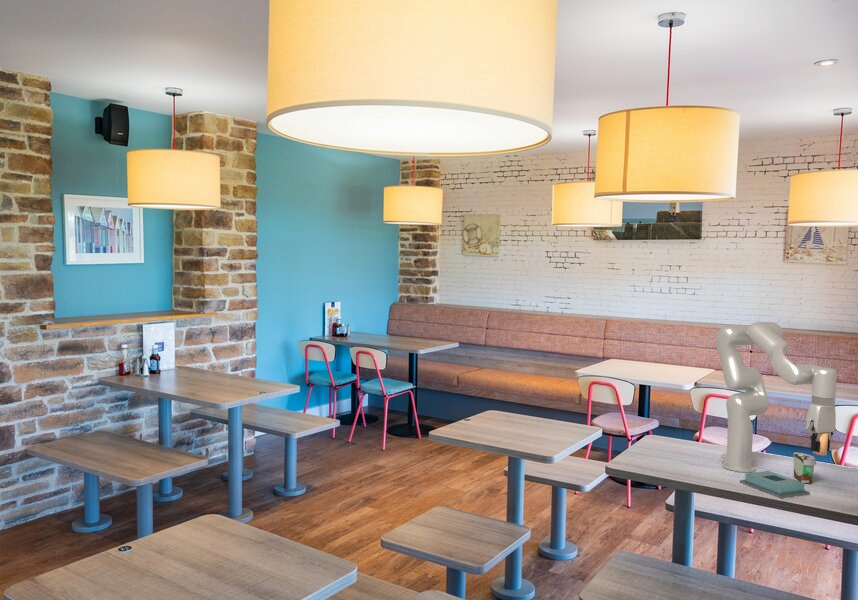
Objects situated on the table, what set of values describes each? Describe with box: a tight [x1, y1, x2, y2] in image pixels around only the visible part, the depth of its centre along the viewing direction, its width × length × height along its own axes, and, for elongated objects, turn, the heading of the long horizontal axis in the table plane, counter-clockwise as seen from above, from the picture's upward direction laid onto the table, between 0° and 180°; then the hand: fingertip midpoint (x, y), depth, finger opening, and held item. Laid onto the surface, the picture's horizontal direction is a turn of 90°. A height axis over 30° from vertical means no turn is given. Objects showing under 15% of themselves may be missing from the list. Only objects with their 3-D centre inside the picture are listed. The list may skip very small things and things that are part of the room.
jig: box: [739, 470, 811, 499], centre depth 254 cm, size 19×14×4 cm
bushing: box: [812, 431, 828, 456], centre depth 247 cm, size 4×4×8 cm
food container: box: [792, 451, 817, 485], centre depth 265 cm, size 12×6×10 cm, turn 168°
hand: (820, 450), depth 247 cm, fingers closed on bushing, 4 cm apart
